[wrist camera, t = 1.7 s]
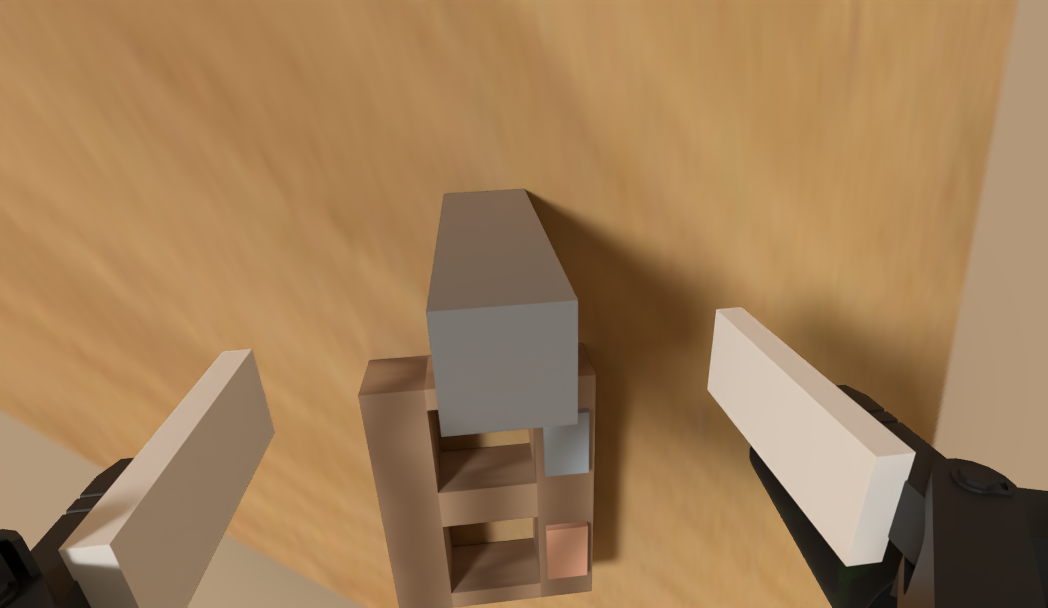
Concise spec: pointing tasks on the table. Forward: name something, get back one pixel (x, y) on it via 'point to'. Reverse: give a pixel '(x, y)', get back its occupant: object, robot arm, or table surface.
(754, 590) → the table surface
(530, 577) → the socket block
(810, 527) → the cup
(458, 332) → the plug
